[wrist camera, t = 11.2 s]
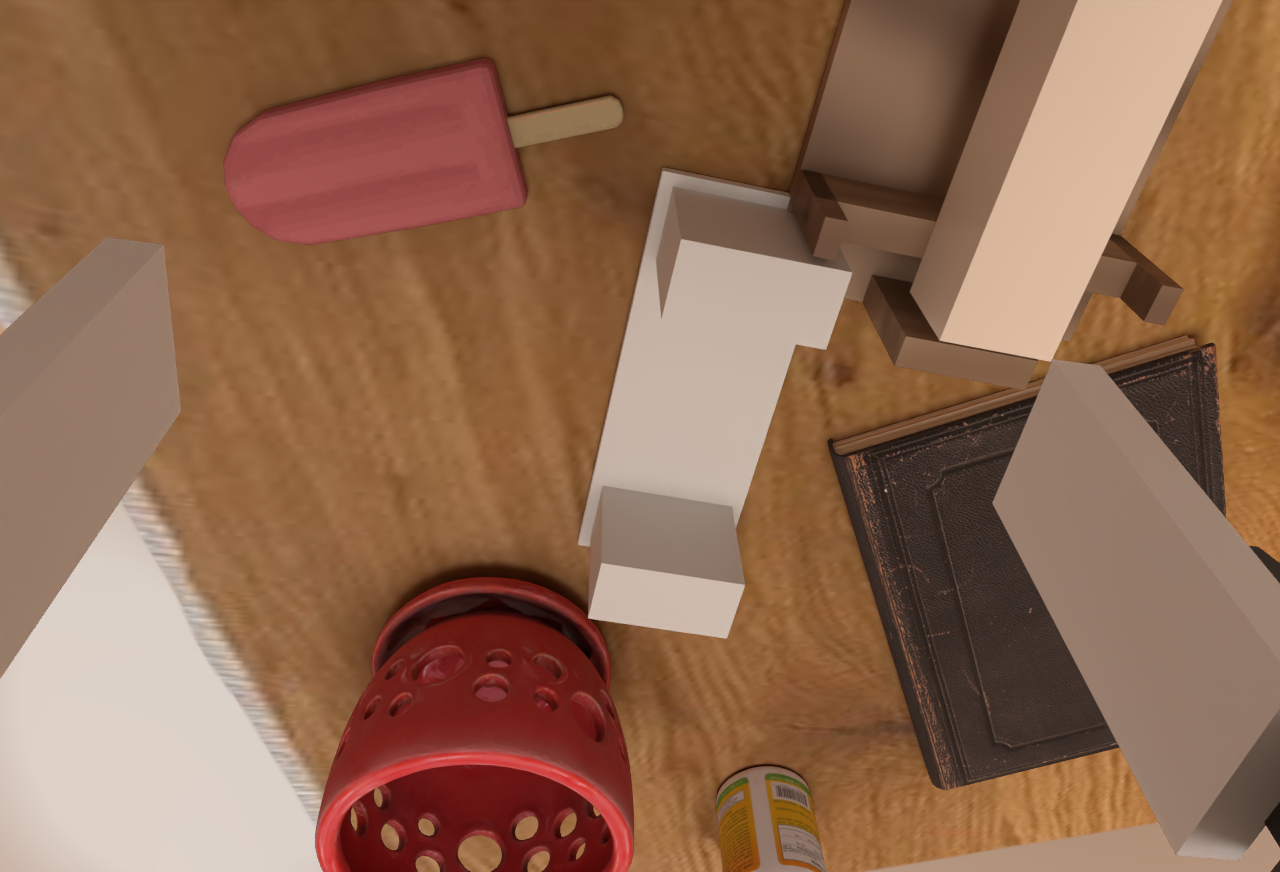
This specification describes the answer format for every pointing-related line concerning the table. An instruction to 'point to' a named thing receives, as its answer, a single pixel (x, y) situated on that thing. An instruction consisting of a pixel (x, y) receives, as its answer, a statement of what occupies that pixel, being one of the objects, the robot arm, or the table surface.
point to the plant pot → (482, 737)
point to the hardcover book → (996, 566)
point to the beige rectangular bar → (1052, 166)
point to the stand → (698, 398)
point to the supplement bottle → (768, 823)
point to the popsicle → (394, 154)
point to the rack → (930, 170)
